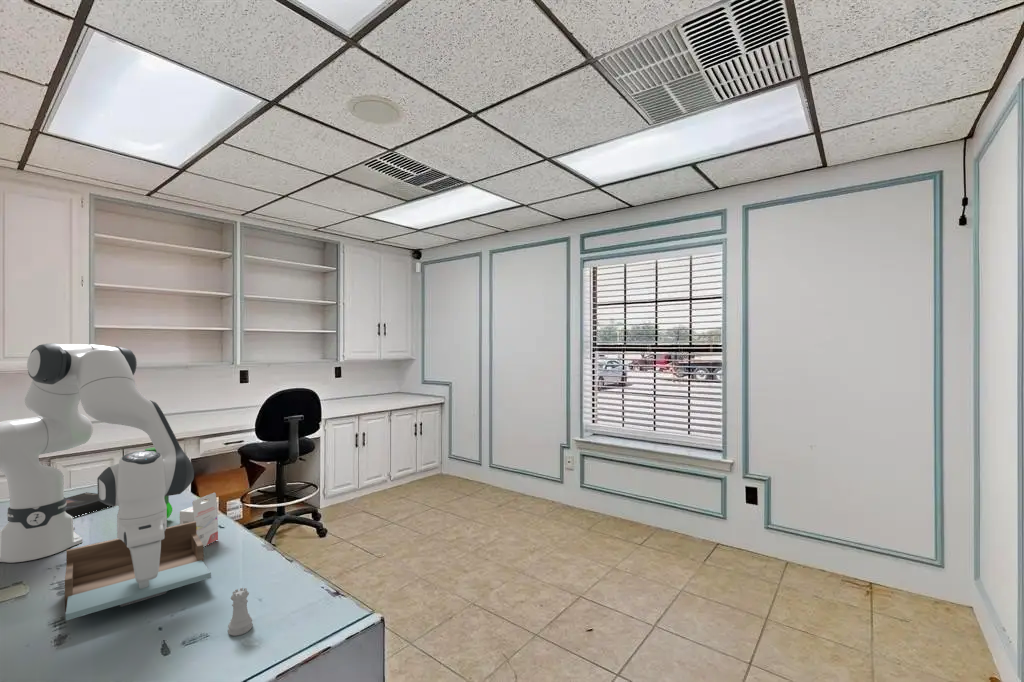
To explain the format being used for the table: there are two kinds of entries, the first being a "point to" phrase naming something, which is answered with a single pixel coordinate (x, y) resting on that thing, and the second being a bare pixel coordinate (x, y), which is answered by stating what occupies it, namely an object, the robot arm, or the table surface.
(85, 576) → the brown long open box
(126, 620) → the table surface
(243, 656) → the table surface
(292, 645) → the table surface
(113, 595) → the drawer face panel
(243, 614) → the rook chess piece
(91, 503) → the flat black box
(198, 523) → the ink cartridge box
